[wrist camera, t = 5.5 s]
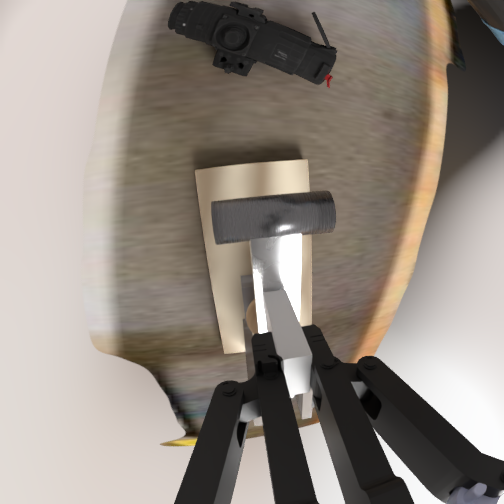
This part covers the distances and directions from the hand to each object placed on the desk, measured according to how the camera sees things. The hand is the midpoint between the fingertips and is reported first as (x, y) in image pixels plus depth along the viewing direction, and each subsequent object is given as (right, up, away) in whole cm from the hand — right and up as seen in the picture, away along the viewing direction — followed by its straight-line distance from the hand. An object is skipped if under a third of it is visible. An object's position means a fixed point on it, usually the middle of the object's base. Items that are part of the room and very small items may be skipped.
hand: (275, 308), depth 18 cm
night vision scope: (-2, +27, +7) cm, 28 cm away
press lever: (0, -1, +4) cm, 4 cm away
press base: (-1, +2, +16) cm, 16 cm away
